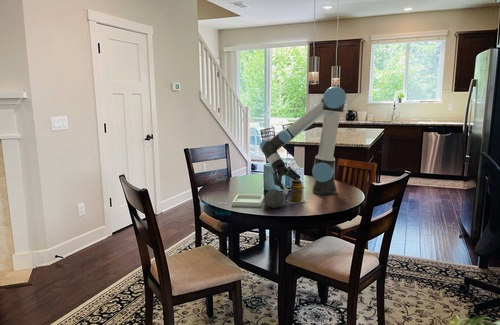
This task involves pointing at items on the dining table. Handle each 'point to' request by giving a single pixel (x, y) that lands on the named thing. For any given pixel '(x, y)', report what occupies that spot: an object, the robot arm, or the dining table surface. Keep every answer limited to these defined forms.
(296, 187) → the condiment
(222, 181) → the dining table surface
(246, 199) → the sage tray
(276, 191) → the decorative ball
